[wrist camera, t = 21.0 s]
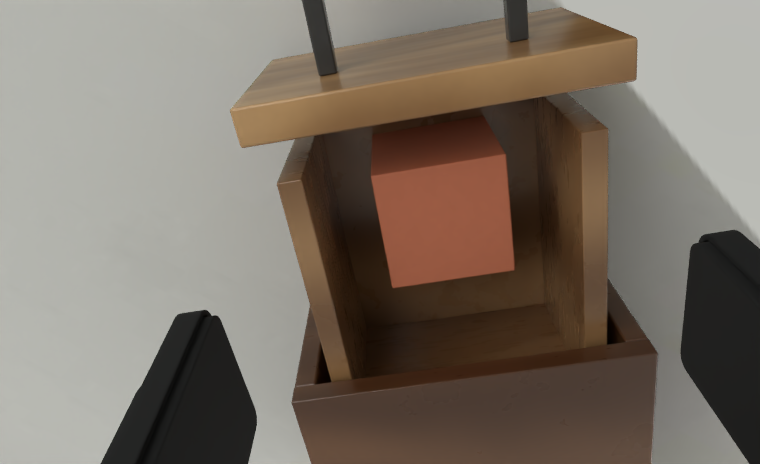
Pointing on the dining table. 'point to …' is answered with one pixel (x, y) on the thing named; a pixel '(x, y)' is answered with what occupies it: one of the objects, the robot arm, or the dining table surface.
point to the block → (442, 202)
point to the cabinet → (489, 406)
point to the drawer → (433, 106)
